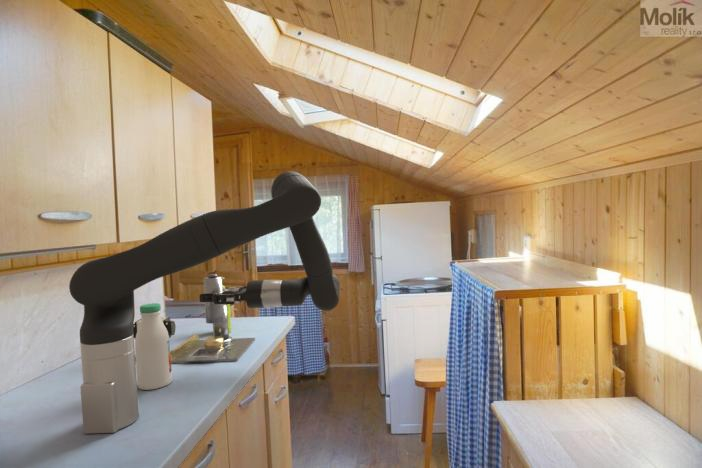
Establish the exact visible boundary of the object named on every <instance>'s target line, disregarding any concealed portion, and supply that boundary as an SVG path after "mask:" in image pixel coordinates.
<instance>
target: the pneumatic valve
mask: <svg viewBox="0 0 702 468" xmlns="http://www.w3.org/2000/svg"><path fill="white" fill-rule="evenodd" d="M160 317H161V316H160ZM161 320H162V322H163V324H164V325H165V327H166V329H167V331H168V335H169V339H170V338H172V337H173V336H174V335H175V333H176V322H175V321H174V320H172V319H171V316H163V317H161ZM140 323H141V318H140V319H138V320H136V321H135V322H134V323H133V336H134V339H135V338H136V334H137V331H138V329H139V326H140Z"/></svg>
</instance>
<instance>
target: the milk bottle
mask: <svg viewBox="0 0 702 468" xmlns="http://www.w3.org/2000/svg"><path fill="white" fill-rule="evenodd" d="M161 309H162V306H161V304H160V303H157V302H156V303H155V302H154V303H146V304H142V305H140V307H139V312H140V313H139V314H140V316H141V318H140V319H141V323H140V326H139V329H138V331H137V334H136V338H134V352H135V366H136V381H137V388H138V389H140V390H143V391H153V390H156V389H160V388H161V389H162V388H163V387H167V386H168V385H169V384H171V382H172V380H173V376H172V375H173V373H172V364H171V355H170V351H171V344H170V342H171V341H170V338H169V335H168V331H167V329H166V327H165V325H164V324H163V322H162V320H161Z"/></svg>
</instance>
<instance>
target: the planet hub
mask: <svg viewBox="0 0 702 468" xmlns="http://www.w3.org/2000/svg"><path fill="white" fill-rule="evenodd" d="M222 277H223V276H218V274H217V273H212V274H207V277H203V290H204V293H203V294H207V293H220V292H223V279H222ZM218 300H221V297H218ZM204 307H205V308H204V309H205V310H204V311H205V323H206V324H211V325H213V323H220V322H223V321H224V304H214V302H204Z"/></svg>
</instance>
